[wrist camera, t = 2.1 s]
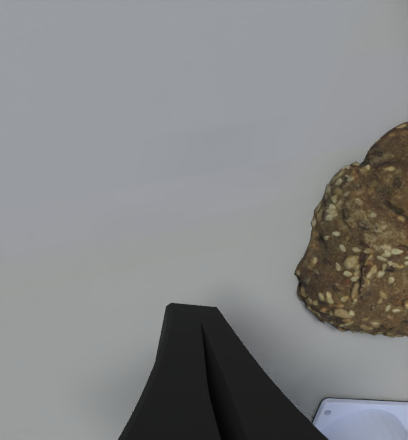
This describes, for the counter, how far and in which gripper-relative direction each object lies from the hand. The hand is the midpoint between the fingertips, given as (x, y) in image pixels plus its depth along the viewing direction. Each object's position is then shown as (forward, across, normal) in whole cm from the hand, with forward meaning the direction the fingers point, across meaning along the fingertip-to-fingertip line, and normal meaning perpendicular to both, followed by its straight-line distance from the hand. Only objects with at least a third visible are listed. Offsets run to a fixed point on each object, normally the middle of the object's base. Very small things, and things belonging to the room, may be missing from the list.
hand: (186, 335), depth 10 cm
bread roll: (+11, -14, 0) cm, 18 cm away
